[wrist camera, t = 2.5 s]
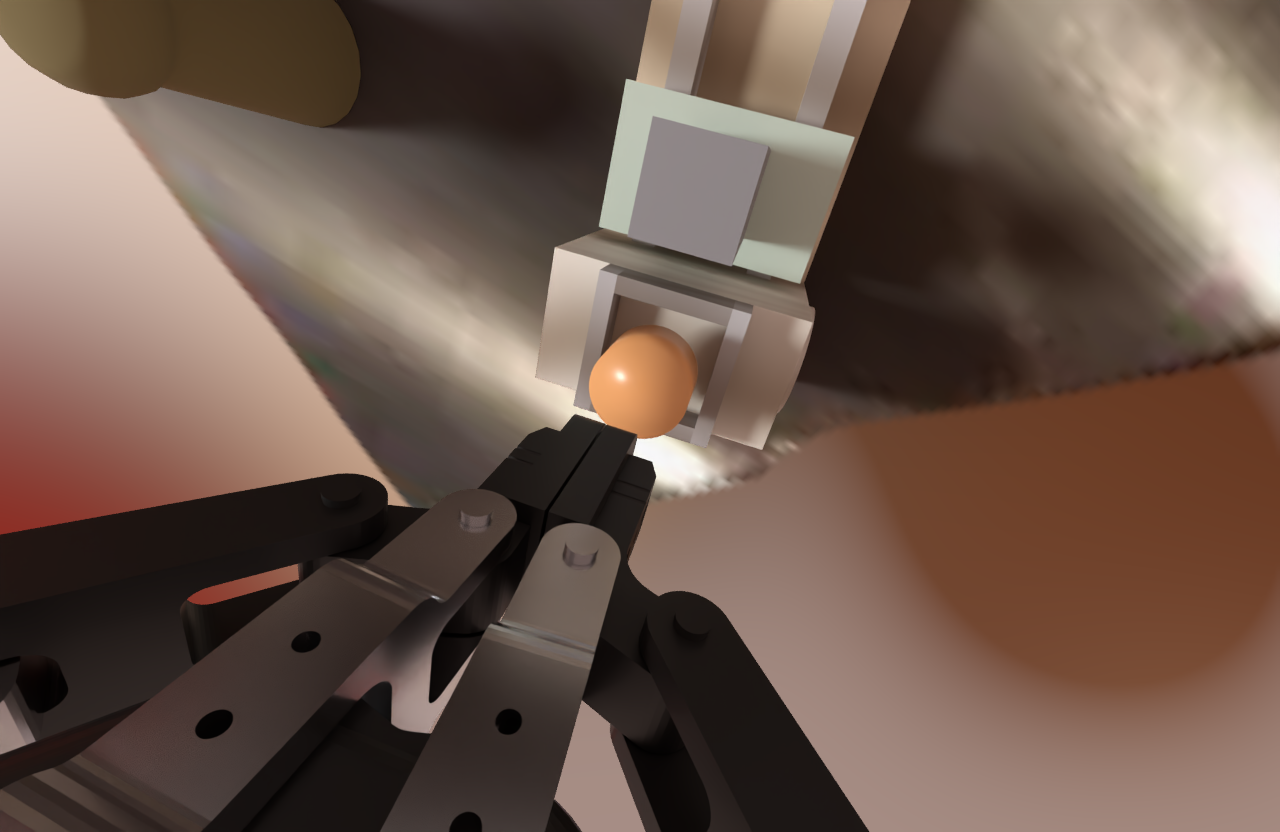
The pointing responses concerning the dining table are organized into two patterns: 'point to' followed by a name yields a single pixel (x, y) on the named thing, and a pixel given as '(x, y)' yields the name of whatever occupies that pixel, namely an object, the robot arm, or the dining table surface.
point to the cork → (196, 51)
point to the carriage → (720, 180)
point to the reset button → (644, 381)
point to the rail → (703, 289)
